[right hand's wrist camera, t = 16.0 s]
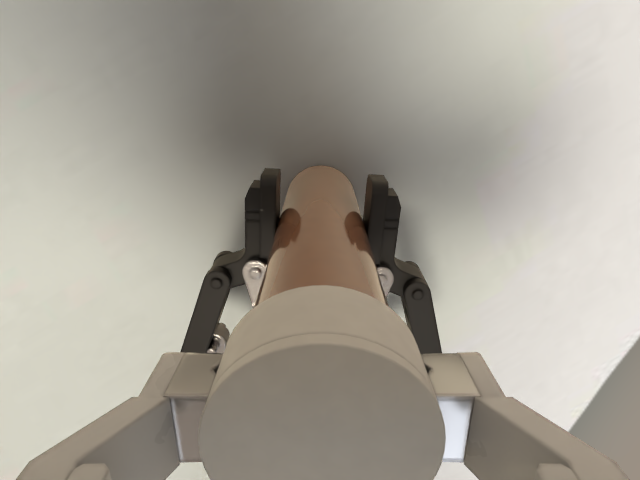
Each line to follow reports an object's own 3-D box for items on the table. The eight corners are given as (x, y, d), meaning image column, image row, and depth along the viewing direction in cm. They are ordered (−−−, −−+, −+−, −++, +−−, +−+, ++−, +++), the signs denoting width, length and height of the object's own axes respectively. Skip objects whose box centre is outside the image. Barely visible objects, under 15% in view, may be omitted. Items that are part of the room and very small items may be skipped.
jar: (353, 163, 25) (421, 336, 8) (355, 229, 26) (416, 490, 10) (284, 167, 25) (211, 346, 8) (289, 232, 27) (237, 497, 10)
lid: (250, 258, 10) (229, 312, 7) (452, 316, 10) (488, 382, 8) (204, 421, 11) (176, 506, 9) (379, 464, 12) (393, 553, 10)
